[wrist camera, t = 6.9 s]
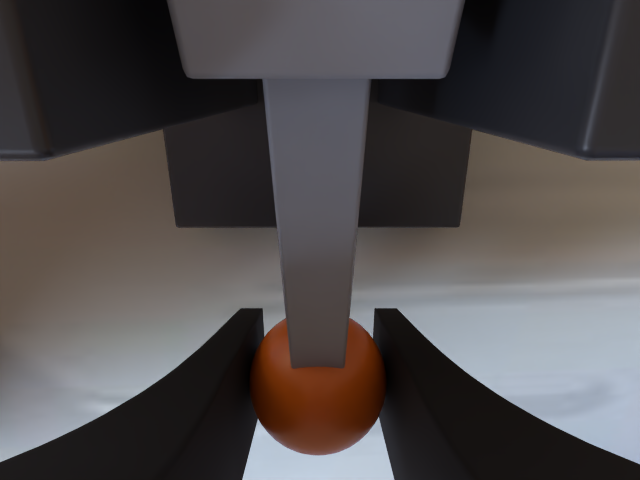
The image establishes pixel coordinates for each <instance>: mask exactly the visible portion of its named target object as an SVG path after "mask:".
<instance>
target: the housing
mask: <svg viewBox="0 0 640 480" xmlns="http://www.w3.org/2000/svg"><path fill="white" fill-rule="evenodd" d="M161 129H163V132H164V139H165V147H166V154H167V162H168V169H169V177H170V185H171V192H172V200H173V207H174V215H175V222H176V226H177V227H179V228H264V227H277V222H276V212H275V202H274V192H273V182H272V172H271V162H270V152H269V142H268V132H267V122H266V112H265V102H264V92H263V82H262V79H192V78H189V77H187V76H186V74H185V72H184V70H183V68H182V64H181V59H180V55H179V51H178V47H177V42H176V38H175V34H174V30H173V25H172V21H171V17H170V13H169V8H168V4H167V0H0V161H45V160H49V159H53V158H57V157H60V156H64V155H68V154H71V153H75V152H79V151H83V150H86V149H90V148H94V147H98V146H101V145H105V144H109V143H113V142H116V141H120V140H124V139H127V138H131V137H135V136H139V135H142V134H146V133H150V132H154V131H157V130H161ZM472 129H473V130H477V131H481V132H484V133H488V134H492V135H495V136H499V137H503V138H506V139H510V140H514V141H517V142H521V143H525V144H528V145H532V146H536V147H539V148H543V149H547V150H550V151H554V152H558V153H561V154H565V155H569V156H572V157H576V158H580V159H583V160H640V0H465V4H464V8H463V13H462V17H461V22H460V26H459V30H458V35H457V39H456V44H455V48H454V53H453V57H452V61H451V66H450V69H449V71H448V73H447V75H446V77H444V78H441V79H371V88H370V99H369V110H368V120H367V131H366V142H365V153H364V164H363V175H362V186H361V196H360V207H359V218H358V227H459V225H460V220H461V212H462V204H463V197H464V189H465V181H466V174H467V166H468V158H469V150H470V143H471V135H472Z"/></svg>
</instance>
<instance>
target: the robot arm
mask: <svg viewBox="0 0 640 480" xmlns="http://www.w3.org/2000/svg"><path fill="white" fill-rule="evenodd" d="M263 339H264V325H263V308H241V309H240V310H239V311H238V312H237V313H235V314H234V315H233V316H232V317H231V318H230V319H229V320H228V321H227V322H226V323H225V324H224V325H223V326H222V327H221V328H220V329H219V330H218V331H217V332H216V333H215V334H214V335H213V336H212V337H211V338H210V339H209V340H208V341H207V342H206V343H205V344H203V345H202V346H201V347H200V348H199V349H198V350H197V351H196V352H194V353H193V354H192V355H191V356H190V357H189V358H187V359H186V360H185V361H184V362H183V363H181V364H180V365H179V366H178V367H177V368H175V369H174V370H173V371H171V372H170V373H169V374H167V375H166V376H165V377H163V378H162V379H160V380H159V381H158V382H156V383H155V384H153V385H152V386H150V387H149V388H147V389H146V390H144V391H143V392H141V393H140V394H138V395H136V396H135V397H133V398H131V399H130V400H128V401H126V402H125V403H123V404H121V405H119V406H118V407H116V408H114V409H113V410H111V411H109V412H108V413H106V414H104V415H102V416H101V417H99V418H97V419H95V420H93V421H91V422H89V423H87V424H85V425H83V426H81V427H79V428H77V429H75V430H73V431H71V432H69V433H67V434H65V435H63V436H61V437H59V438H56V439H54V440H52V441H50V442H48V443H45V444H43V445H41V446H39V447H36V448H34V449H31V450H29V451H27V452H24V453H22V454H19V455H17V456H14V457H12V458H10V459H7V460H5V461H2V462H0V480H242V478H243V474H244V470H245V466H246V463H247V459H248V455H249V451H250V447H251V443H252V439H253V435H254V431H255V427H256V423H257V419H258V417H257V415H256V413H255V410H254V408H253V405H252V401H251V396H250V387H249V377H250V369H251V364H252V360H253V358H254V355H255V352H256V350H257V348H258V346H259V344H260V343H261V341H262V340H263ZM373 340H374V341H375V343H376V344H377V346H378V348H379V350H380V352H381V355H382V358H383V361H384V365H385V370H386V379H387V386H386V396H385V400H384V404H383V407H382V410H381V412H380V415H379V419H380V423H381V427H382V431H383V435H384V439H385V443H386V447H387V451H388V455H389V459H390V463H391V467H392V471H393V475H394V479H395V480H640V464H638V463H635V462H633V461H630V460H628V459H625V458H623V457H620V456H618V455H616V454H613V453H611V452H608V451H606V450H603V449H601V448H599V447H596V446H594V445H592V444H589V443H587V442H585V441H583V440H581V439H579V438H577V437H575V436H573V435H570V434H568V433H566V432H564V431H562V430H560V429H558V428H556V427H554V426H552V425H550V424H548V423H546V422H544V421H543V420H541V419H539V418H537V417H535V416H533V415H531V414H530V413H528V412H526V411H525V410H523V409H521V408H519V407H518V406H516V405H514V404H512V403H511V402H509V401H507V400H506V399H504V398H503V397H501V396H499V395H498V394H496V393H495V392H493V391H492V390H490V389H489V388H487V387H486V386H485V385H483V384H482V383H480V382H479V381H477V380H476V379H474V378H473V377H472V376H470V375H469V374H468V373H466V372H465V371H464V370H462V369H461V368H460V367H459V366H458V365H456V364H455V363H454V362H453V361H451V360H450V359H449V358H448V357H446V356H445V355H444V354H443V353H442V352H441V351H440V350H438V349H437V348H436V347H435V346H434V345H433V344H432V343H431V342H430V341H429V340H428V339H427V338H425V337H424V336H423V335H422V334H421V333H420V332H419V331H418V330H417V329H416V328H415V327H414V326H413V325H412V324H411V323H410V321H409V320H408V319H407V318H406V317H405V316H404V315H403V314H402V313H401V312H400V311H399V310H398V309H397V308H375V312H374V331H373Z"/></svg>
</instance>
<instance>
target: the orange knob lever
mask: <svg viewBox="0 0 640 480" xmlns="http://www.w3.org/2000/svg"><path fill="white" fill-rule="evenodd" d="M167 4H168V8H169V13H170V17H171V21H172V25H173V30H174V34H175V38H176V42H177V47H178V51H179V55H180V59H181V64H182V68H183V70H184V72H185V74H186V76H187V77H189V78H192V79H262V82H263V92H264V102H265V112H266V122H267V132H268V142H269V152H270V162H271V172H272V182H273V192H274V202H275V212H276V222H277V232H278V242H279V252H280V262H281V272H282V282H283V292H284V302H285V312H286V318H285V319H284V320H282V321H281V322H279V323H278V324H276V325H275V326H274V327H273V328H272V329H271V330H270V331H269V332H268V333H267V334H266V336H265V337H264V339H263V340H262V341H261V343H260V344H259V346H258V348H257V350H256V352H255V355H254V358H253V360H252V364H251V369H250V377H249V387H250V396H251V401H252V405H253V408H254V410H255V413H256V415H257V417H258V419H259V421H260V423H261V424H262V425H263V427H264V428H265V429H266V431H267V432H268V433H269V434H270V435H271V436H272V437H273V438H274V439H275V440H276V441H278V442H279V443H281V444H282V445H284V446H285V447H287V448H289V449H291V450H294V451H296V452H299V453H303V454H309V455H327V454H333V453H337V452H340V451H342V450H344V449H347V448H349V447H351V446H352V445H354V444H355V443H357V442H358V441H359V440H361V439H362V438H363V437H364V436H365V435H366V434H367V433H368V432H369V430H370V429H371V428H372V426H373V425H374V424H375V422H376V420H377V419H378V417H379V415H380V412H381V410H382V407H383V404H384V400H385V396H386V386H387V379H386V370H385V365H384V361H383V358H382V355H381V352H380V350H379V348H378V346H377V344H376V343H375V341H374V340H373V338H372V337H371V336H370V334H369V333H368V332H367V331H366V330H365V329H364V328H363V327H362V326H361V325H360V324H358V323H357V322H355V321H354V320H352V319H351V318H349V316H350V305H351V294H352V283H353V272H354V262H355V251H356V240H357V229H358V218H359V207H360V196H361V186H362V175H363V164H364V153H365V142H366V131H367V120H368V110H369V99H370V88H371V79H441V78H444V77H446V75H447V73H448V71H449V69H450V66H451V61H452V57H453V53H454V48H455V44H456V39H457V35H458V30H459V26H460V22H461V17H462V13H463V8H464V4H465V0H167Z"/></svg>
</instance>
